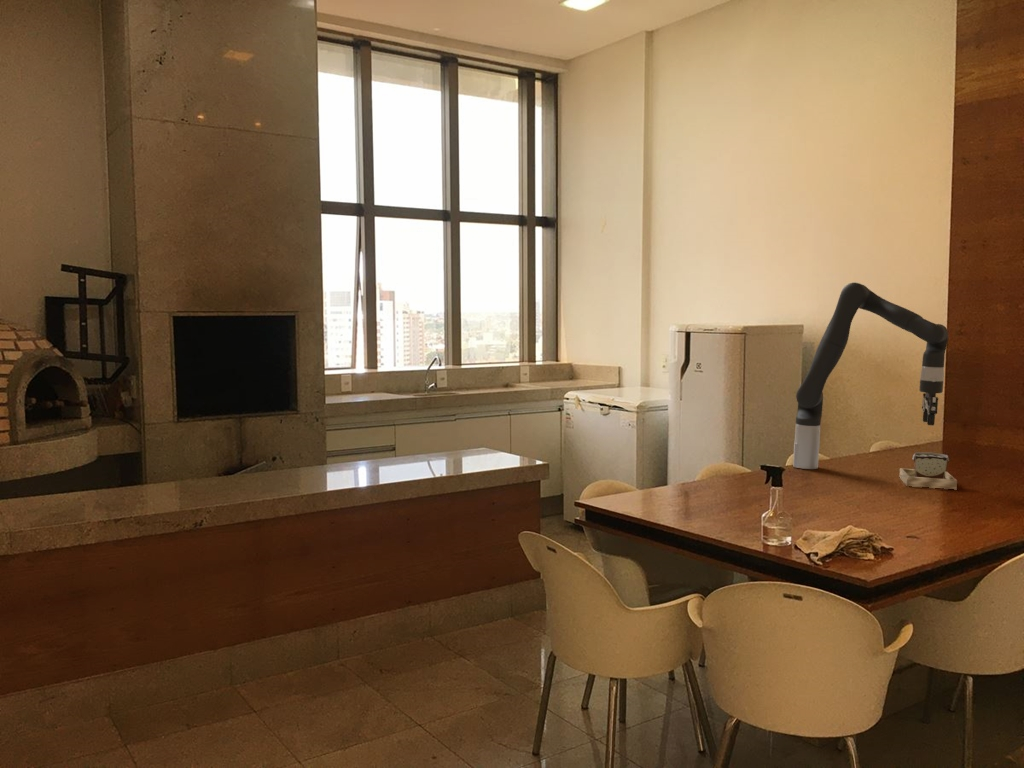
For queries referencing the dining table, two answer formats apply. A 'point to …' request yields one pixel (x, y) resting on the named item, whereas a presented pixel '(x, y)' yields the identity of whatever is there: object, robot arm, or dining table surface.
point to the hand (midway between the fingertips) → (928, 423)
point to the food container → (930, 465)
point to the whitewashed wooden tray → (927, 480)
